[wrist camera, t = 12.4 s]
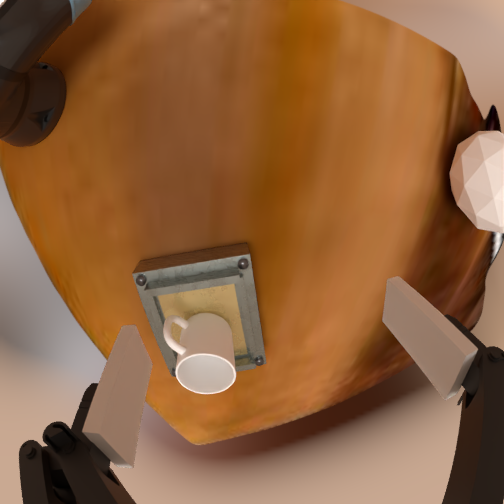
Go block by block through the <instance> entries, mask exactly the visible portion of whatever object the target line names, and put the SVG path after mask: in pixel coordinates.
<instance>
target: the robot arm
mask: <svg viewBox="0 0 504 504" xmlns="http://www.w3.org/2000/svg"><path fill="white" fill-rule="evenodd" d="M91 2H92V0H0V139H1V140H3V141H5V142H7V143H10V144H11V145H14V146H18V147H24V146H32V145H35V144H37V143H39V142H40V141H42V140H43V139H44V138H46V137H47V136H48V135H49V134H50V132H51V131H52V130H53V129H54V127H55V126H56V124H57V122H58V120H59V118H60V116H61V114H62V111H63V108H64V104H65V98H66V84H65V80H64V77H63V75H62V73H61V71H60V70H59V69H58V68H56V67H55V66H53V65H50V64H47V63H43V62H37V61H38V60H39V59H40V57H41V56H42V55H43V54H44V53H45V51H46V50H47V49H48V48H49V47H50V46H51V44H52V43H53V42H54V41H55V40H56V39H57V38H58V37H59V36H60V35H61V33H62V32H63V31H64V30H65V29H66V28H67V27H68V26H71V25H72V24H73V23H74V22H75V20H76V18H77V17H78V16H79V15H80V14H81V13H82V12H83V11H84V10H85V9H86V8H87V7H88V6H89V5H90V4H91ZM36 62H37V63H36ZM382 321H383V322H384V324H385V325H386V326H387V327H388V328H389V330H390V331H391V332H392V333H393V334H394V336H395V337H396V338H397V339H398V341H399V342H400V343H401V344H402V346H403V347H404V348H405V349H406V351H407V352H408V353H409V354H410V356H411V357H412V358H413V359H414V361H415V362H416V363H417V365H418V366H419V367H420V368H421V370H422V371H423V372H424V374H425V375H426V376H427V377H428V379H429V380H430V381H431V383H432V384H433V385H434V387H435V388H436V389H437V391H438V392H439V393H440V395H441V396H442V397H443V399H444V400H445V401H446V400H447V399H449V398H451V397H453V396H454V395H456V394H457V393H458V391H459V389H460V387H461V385H462V386H463V387H464V388H465V390H464V392H463V394H462V396H461V398H460V400H459V401H458V404H457V405H460V403H461V401H462V411H461V420H460V427H459V434H458V440H457V446H456V451H455V456H454V461H453V465H452V470H451V474H450V478H449V482H448V485H447V489H446V492H445V496H444V499H443V502H442V504H503V499H504V351H503V350H501V349H500V348H498V347H494V346H493V347H486V346H485V345H484V344H483V343H481V342H480V341H479V340H478V339H477V338H476V337H475V336H474V335H473V334H472V333H471V332H470V331H468V329H467V328H466V327H465V326H463V325H462V324H461V323H460V322H459V321H458V320H457V319H456V318H454V317H452V316H450V315H448V314H447V315H444V316H443V315H442V314H441V313H440V312H439V311H438V310H437V309H436V308H435V307H433V306H432V305H431V304H430V303H429V302H428V301H427V300H426V299H425V298H423V297H422V296H421V295H420V294H419V293H418V292H417V291H415V290H414V289H413V288H412V287H411V286H410V285H408V284H407V283H406V282H405V281H404V280H403V279H401V278H400V277H399V276H398V277H394V278H390V279H387V286H386V296H385V304H384V312H383V319H382ZM152 365H153V364H152V361H151V359H150V357H149V355H148V353H147V351H146V348H145V346H144V344H143V342H142V339H141V337H140V335H139V332H138V330H137V327H136V325H126V326H122V327H121V330H120V332H119V334H118V337H117V339H116V341H115V344H114V346H113V348H112V351H111V353H110V356H109V358H108V361H107V363H106V366H105V368H104V371H103V373H102V376H101V378H100V381H99V383H92V384H91V385H90V386H89V387H88V388H87V389H86V391H85V393H84V395H83V398H82V402H81V403H80V405H79V409H78V411H77V413H76V416H75V419H74V422H73V425H72V428H71V429H70V428H69V427H68V426H67V425H66V424H65V423H63V422H54V423H51V424H50V425H48V426H47V427H46V429H45V430H44V433H43V441H44V442H45V443H46V444H47V445H48V446H45V447H42V446H41V445H40V444H39V443H38V442H37V441H34V440H28V441H26V442H25V443H24V444H23V445H22V446H21V448H20V451H19V466H20V480H21V490H22V497H23V504H136V503H135V501H134V500H133V499H132V498H131V496H130V495H129V493H128V492H127V491H126V489H125V488H124V487H123V485H122V484H121V482H120V481H119V479H118V478H117V476H116V475H115V474H114V472H113V470H112V469H111V468H110V467H109V466H110V461H112V462H113V463H114V464H115V465H116V466H117V467H125V468H133V467H134V460H135V453H136V447H137V441H138V435H139V429H140V423H141V418H142V413H143V407H144V403H145V398H146V393H147V388H148V383H149V378H150V374H151V369H152Z"/></svg>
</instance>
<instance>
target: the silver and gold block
mask: <svg viewBox="0 0 504 504" xmlns="http://www.w3.org/2000/svg"><path fill="white" fill-rule="evenodd" d="M132 274H133V278H134V281H135V284H136V287H137V290H138V293H139V295H140V298H141V301H142V304H143V307H144V310H145V312H146V315H147V318H148V320H149V323H150V326H151V328H152V331H153V333H154V336H155V338H156V341H157V343H158V346H159V348H160V350H161V353H162V355H163V357H164V360H165V362H166V364H167V367H168V369H169V371H170V373H171V375H172V376H175V377H176V364H177V356H178V353H177V352H176V351H174V350H173V349H172V348H171V347H170V346H169V345H168V344H167V343H166V341H165V338H164V333H163V328H164V322H165V320H166V318H167V317H168V316H170V315H177V316H180V317H182V318H183V319H185V320H186V321H187V320H188V319H189V318H190V317H192V316H193V315H196V314H199V313H212V314H216V315H218V316H220V317H222V318H223V319H224V320H225V321H226V322H227V323H228V324H229V326H230V328H231V331H232V338H233V349H234V359H235V369H236V371H243V370H249V369H255V368H256V365H258V366H260V365H263V364H266V358H265V351H264V344H263V338H262V331H261V325H260V318H259V311H258V305H257V298H256V291H255V285H254V278H253V271H252V264H251V258H250V252H249V249H248V246H247V243H241V244H235V245H229V246H223V247H217V248H211V249H205V250H199V251H194V252H188V253H182V254H176V255H170V256H165V257H159V258H153V259H148V260H142V261H140V262H139V263H138V265H137V267H136V268H135V270H134V272H133V273H132ZM181 330H182V327H181V326H180V325H178V324H177V323H174V322H173V323H172V324H171V334H172V337H173V339H174V340H175V341H177V342H178V343H179V342H180V336H181Z"/></svg>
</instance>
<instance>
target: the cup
mask: <svg viewBox="0 0 504 504" xmlns="http://www.w3.org/2000/svg"><path fill="white" fill-rule="evenodd" d="M173 322H174V323H177V324H178V325H180V326H181V327H182V330H181V336H180V342H179V343H178V342H177V341H175V340H174V339H173V337H172V334H171V324H172V323H173ZM163 333H164V338H165V341H166V343H167V344H168V345H169V346H170V347H171V348H172V349H173V350H174V351H176V352H177V353H178V356H177V364H176V377H177V379H178V381H179V382H180V384H181V385H182V386H184V387H185V388H187V389H188V390H190V391H193V392H196V393H201V394H214V393H219V392H222V391H224V390H226V389H227V388H229V387H230V386H231V385H232V384H233V383H234V381H235V378H236V369H235V359H234V349H233V338H232V331H231V328H230V326H229V324H228V323H227V322H226V321H225V320H224V319H223V318H222V317H220V316H218V315H216V314H212V313H199V314H196V315H193V316H192V317H190V318H189V319H188V320H187V321H186V320H185V319H183V318H182V317H180V316H177V315H170V316H168V317H167V318H166V320H165V322H164V328H163Z"/></svg>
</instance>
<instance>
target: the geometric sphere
mask: <svg viewBox="0 0 504 504" xmlns="http://www.w3.org/2000/svg"><path fill="white" fill-rule="evenodd" d="M450 181H451V189H452V193H453V195H454V198H455V201H456V203H457V206H458V207H459V208H460V209H461V210H462V211H463V212H464V213H465V214H466V216H467V217H468V218H469V219H470V220H471V221H472V222H473V224H474V225H475V226H476V227H477V228H478V229H483V230H488V231H494V232H499V233H504V134H502V133H501V132H499V131H478V132H477V133H475V134H473V135H472V136H470V137H469V138H467V139H466V140H464V141H463V142H461V143H460V144H458V145H457V149H456V153H455V156H454V160H453V163H452V166H451V170H450Z"/></svg>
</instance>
